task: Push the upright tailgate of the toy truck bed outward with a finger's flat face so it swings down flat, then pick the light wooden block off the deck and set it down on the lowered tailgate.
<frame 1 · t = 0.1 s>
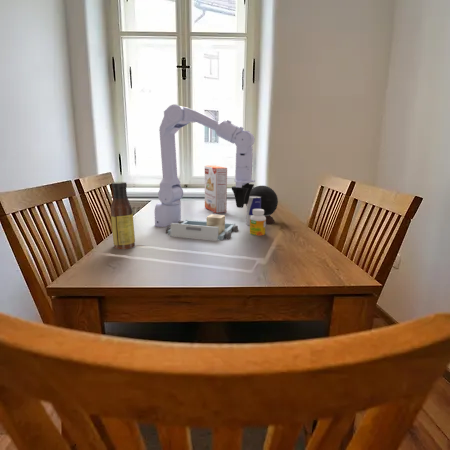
hand: (242, 205, 121), 10 cm above the table, tool pointing down, fingers open, 7 cm apart
tailgate: (193, 232, 110), point 3 cm above the table, hinge at -8.0°
light wooden block: (215, 233, 117), point 1 cm above the table, touching truck bed
sauce bottle: (124, 248, 103), on the table
truck bed: (202, 235, 119), on the table
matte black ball: (260, 221, 142), on the table
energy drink: (252, 228, 131), on the table
supplement bottle: (257, 237, 118), on the table
cracker box: (215, 210, 164), on the table
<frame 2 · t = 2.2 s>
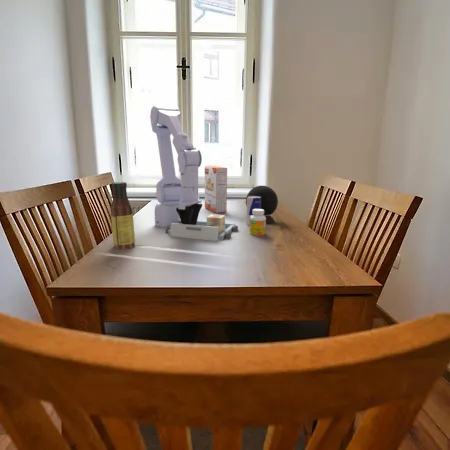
hand: (189, 226, 116), 4 cm above the table, tool pointing down, fingers open, 6 cm apart
tailgate: (193, 232, 110), point 3 cm above the table, hinge at -7.9°, touching gripper
everything else where it was.
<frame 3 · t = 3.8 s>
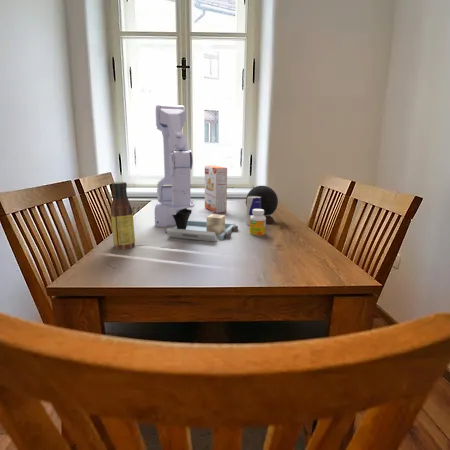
hand: (181, 232, 109), 3 cm above the table, tool pointing down, fingers closed, pressing on tailgate
tailgate: (191, 236, 109), point 2 cm above the table, hinge at 41.1°, touching gripper
everything else where it was.
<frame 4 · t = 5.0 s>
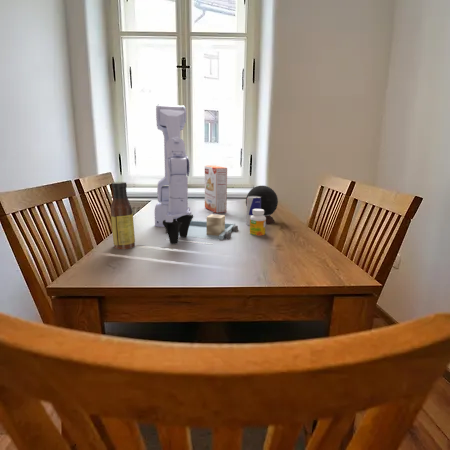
hand: (178, 239, 108), 2 cm above the table, tool pointing down, fingers open, 7 cm apart
tailgate: (191, 242, 108), point 1 cm above the table, hinge at 88.3°
everything else where it was.
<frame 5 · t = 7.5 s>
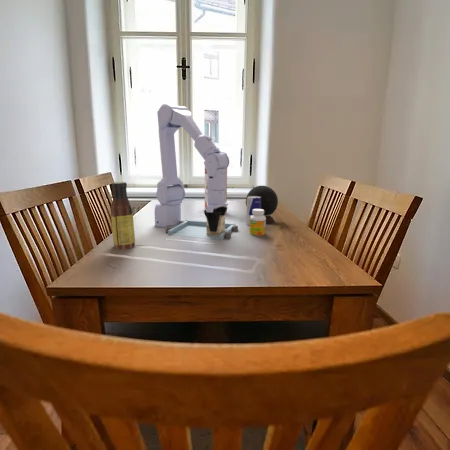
hand: (215, 229, 116), 3 cm above the table, tool pointing down, fingers closed on light wooden block, 5 cm apart
light wooden block: (215, 233, 117), point 1 cm above the table, touching gripper, truck bed
everything else where it was.
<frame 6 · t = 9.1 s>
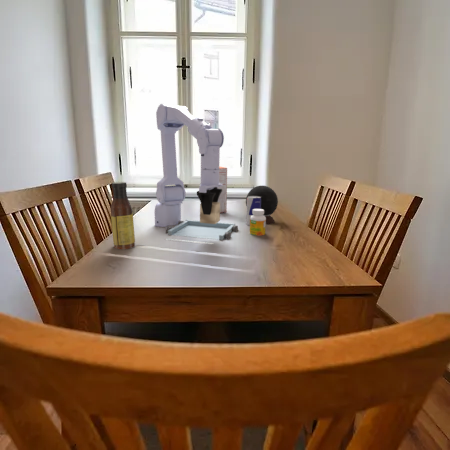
hand: (209, 212, 108), 10 cm above the table, tool pointing down, fingers closed on light wooden block, 5 cm apart
light wooden block: (209, 221, 108), point 7 cm above the table, touching gripper
everything else where it was.
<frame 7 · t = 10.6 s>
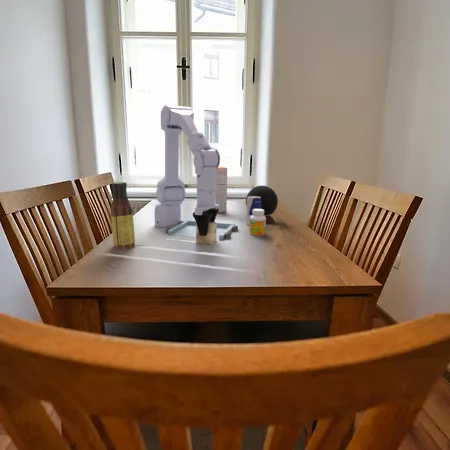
hand: (205, 233, 106), 4 cm above the table, tool pointing down, fingers closed on light wooden block, 5 cm apart
tailgate: (191, 242, 108), point 1 cm above the table, hinge at 88.2°, touching light wooden block
light wooden block: (206, 241, 107), point 1 cm above the table, touching gripper, tailgate
everything else where it was.
when the fingers open (4 cm above the table, at t = 11.0 s): light wooden block stays where it is, resting on tailgate.
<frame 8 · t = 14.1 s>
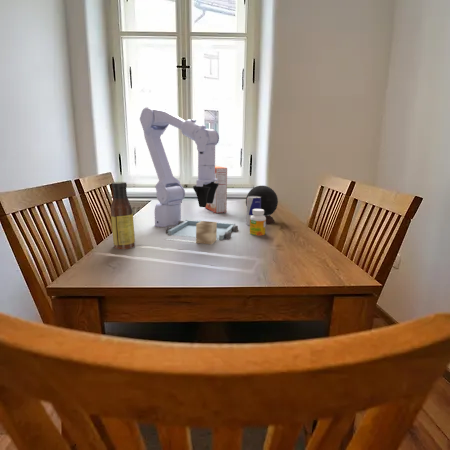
hand: (206, 205, 119), 10 cm above the table, tool pointing down, fingers open, 7 cm apart
light wooden block: (206, 241, 107), point 1 cm above the table, touching tailgate
everything else where it was.
at the end: tailgate at +88° (first picture: -8°); light wooden block inside the target area (1.0 cm from its centre), point 1.3 cm above the table; light wooden block tilted 2° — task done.
